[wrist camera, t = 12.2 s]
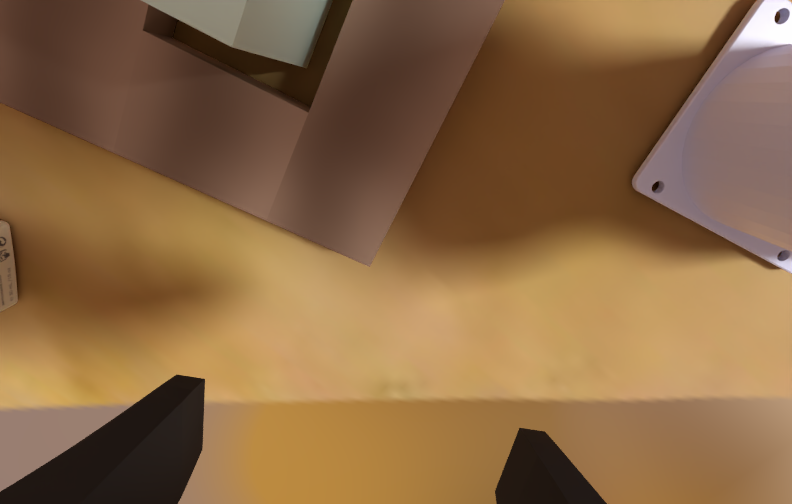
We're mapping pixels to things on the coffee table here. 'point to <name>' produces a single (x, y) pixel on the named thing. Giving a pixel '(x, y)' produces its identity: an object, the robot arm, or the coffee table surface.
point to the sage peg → (256, 24)
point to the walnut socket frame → (253, 106)
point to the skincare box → (7, 269)
